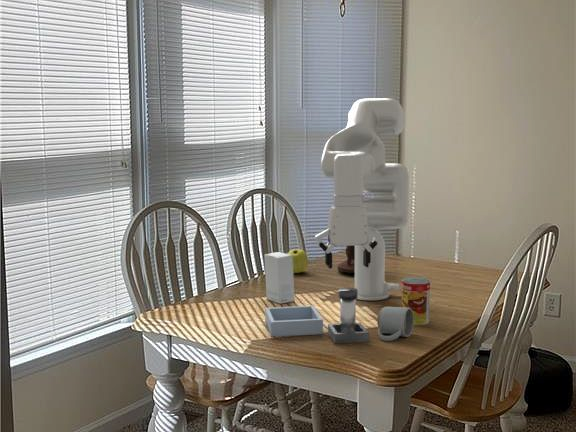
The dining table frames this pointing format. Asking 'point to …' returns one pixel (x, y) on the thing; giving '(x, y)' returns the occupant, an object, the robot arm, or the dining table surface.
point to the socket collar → (348, 334)
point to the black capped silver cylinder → (348, 309)
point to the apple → (299, 260)
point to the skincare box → (279, 277)
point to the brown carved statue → (348, 261)
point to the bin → (293, 321)
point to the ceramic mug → (395, 322)
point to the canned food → (417, 298)
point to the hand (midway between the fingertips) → (347, 266)
